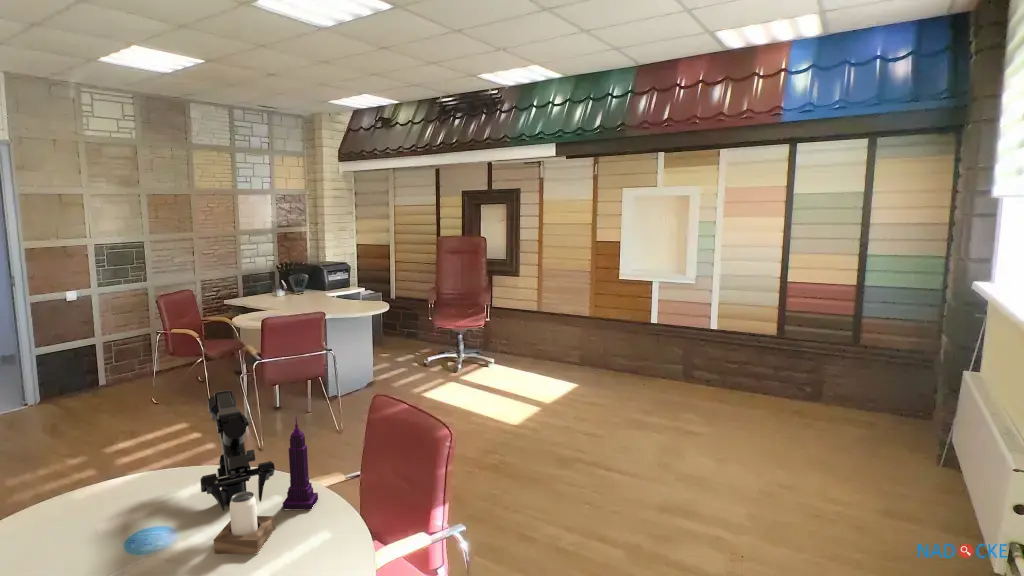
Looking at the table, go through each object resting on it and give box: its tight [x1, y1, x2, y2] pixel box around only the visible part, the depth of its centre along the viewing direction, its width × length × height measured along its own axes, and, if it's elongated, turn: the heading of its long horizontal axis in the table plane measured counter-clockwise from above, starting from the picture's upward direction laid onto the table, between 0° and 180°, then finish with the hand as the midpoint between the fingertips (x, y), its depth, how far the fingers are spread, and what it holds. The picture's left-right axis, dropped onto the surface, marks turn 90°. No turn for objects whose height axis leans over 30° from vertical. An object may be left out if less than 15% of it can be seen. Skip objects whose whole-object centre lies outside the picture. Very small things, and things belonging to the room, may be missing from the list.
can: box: [229, 490, 258, 536], centre depth 155 cm, size 6×6×12 cm
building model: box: [282, 417, 319, 510], centre depth 172 cm, size 9×6×30 cm
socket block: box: [213, 515, 276, 555], centre depth 155 cm, size 11×11×4 cm
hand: (242, 505), depth 157 cm, fingers open, 9 cm apart
